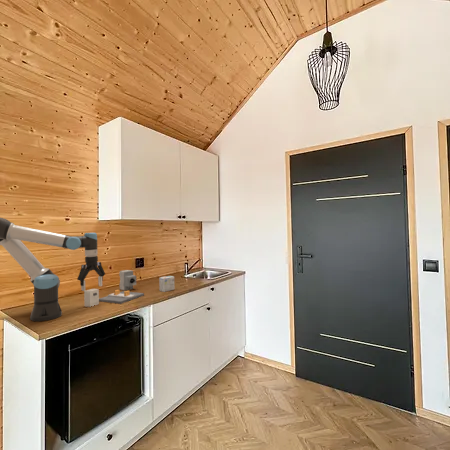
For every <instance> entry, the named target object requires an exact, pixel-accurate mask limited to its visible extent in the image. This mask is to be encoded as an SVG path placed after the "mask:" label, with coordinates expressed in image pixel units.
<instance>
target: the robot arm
mask: <svg viewBox="0 0 450 450" xmlns="http://www.w3.org/2000/svg"><path fill="white" fill-rule="evenodd" d="M22 241H23V242H29V243H36V244H42V245H48V246H52V247H59V248H63V249H69V250H72V251H75V250H78V249H79V248H80V249H81V248H82V249H83V248H84V256H85V257H84V262H85V264H81V265H80V266H81V267H80V271H79V273H78V276H77V281H80V287H81V288H80V289H81V291H82V292H84V291H86V280H85V279H86V278H87V276H88V275H89V272H91V271H95V273H96V274H97V275H98V278H97V279H98V280H97V281H98V287H103V281H104V280H103V279H104V276H105V275H106V273H105V270H104V268H103V265H102V262H101V261H99V257H98V255H99V254H98V251H99V250H98V235H97V233H96V232H85V233H84V235H79V236H78V235H77V236H74V235H73V236H72V235H69V234H68V235H66V234H61V233H57V232H52V231H47V230H43V229H37V228H31V227H27V226H22V225H17V224H16V225H15V223H14V222H11V221H10V220H8V219H7V218H3V217H0V246H2V247H3V248H4V250H6V251H7V252H8V254H9V255H10V256H12V257H11V258H13V259H14V260H15V261H16V262H17V264H18V265H19V266H20V267H21V268H22V269H23V270H24V271H25V273H27V275H28V276H29V277H30V282H31V284H32V285H33V306H32V310H31V312H30V313H31V314H30V316H29V318H30V319H29V320H30V321H31V320H32V321H31V322H46V321H51V320H54V319H55V320H56V319H58V318H60V317H61V316H63V312H62V311H63V310H62V308H61V306H60V302H59V287H60V284H61V279H60V277H59V276H58V275H57V274H55V273H54V272H53V271H52V270H51V269H50V268H49V267H48V268H47V267H44V265H43V264H42V263H41V262H40V261H39V259H38V258H37V257H36V256H35V254H34V253H33V252H31V251H30V249H29V248H28V247H27V246H26V245H25V244H24V243H23V242H22ZM50 319H51V320H50ZM45 320H46V321H45Z"/></svg>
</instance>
